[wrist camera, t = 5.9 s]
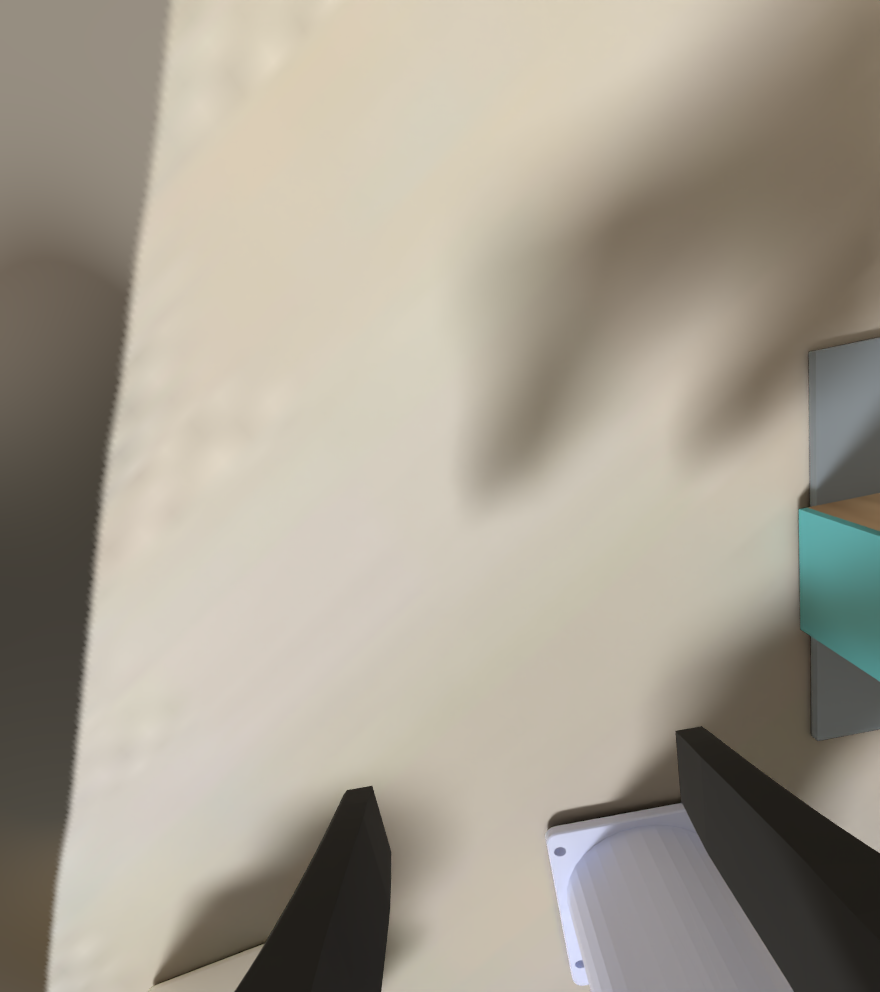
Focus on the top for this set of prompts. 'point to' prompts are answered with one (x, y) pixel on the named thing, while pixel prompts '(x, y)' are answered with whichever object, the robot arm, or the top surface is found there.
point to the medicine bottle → (213, 975)
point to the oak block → (842, 578)
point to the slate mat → (835, 477)
